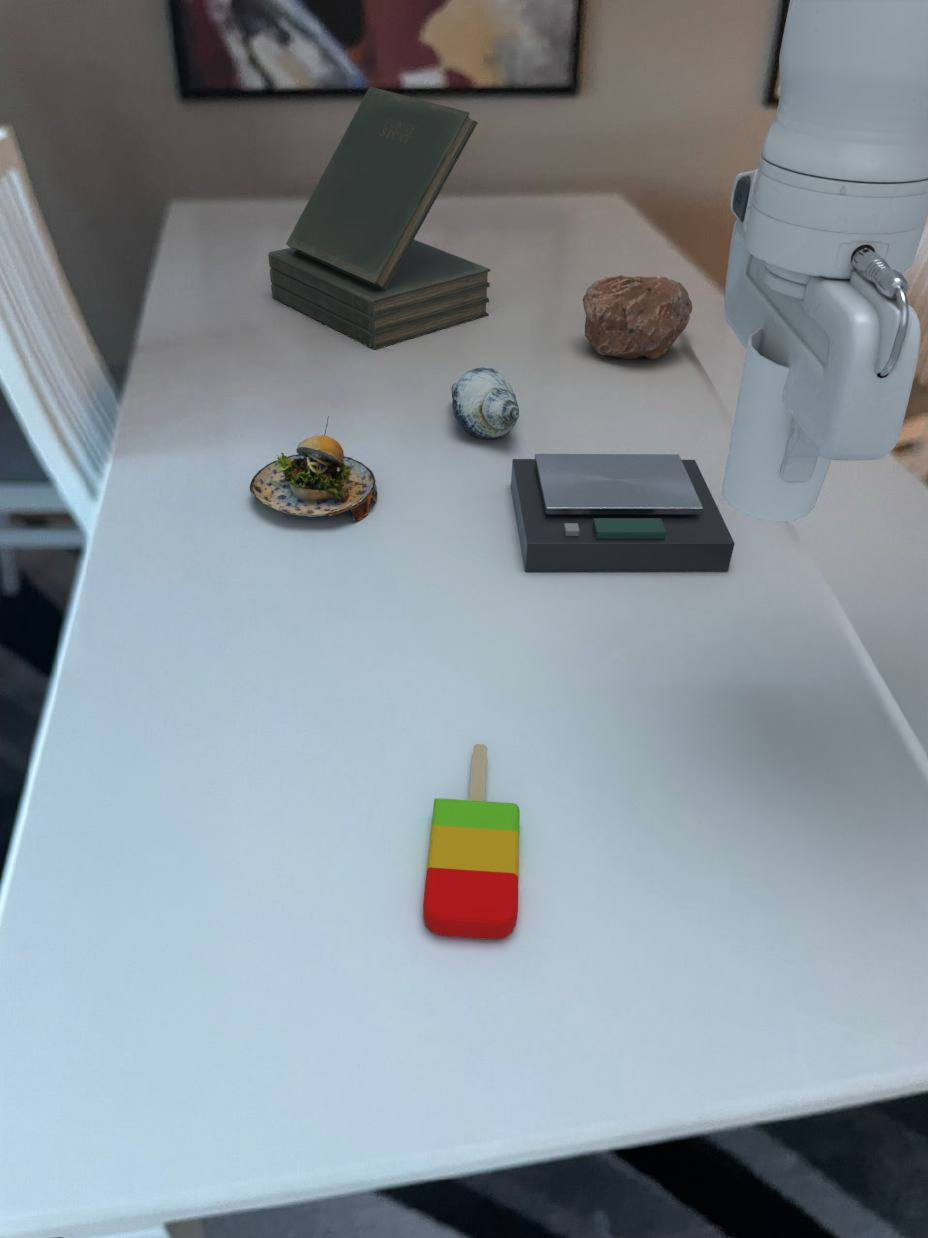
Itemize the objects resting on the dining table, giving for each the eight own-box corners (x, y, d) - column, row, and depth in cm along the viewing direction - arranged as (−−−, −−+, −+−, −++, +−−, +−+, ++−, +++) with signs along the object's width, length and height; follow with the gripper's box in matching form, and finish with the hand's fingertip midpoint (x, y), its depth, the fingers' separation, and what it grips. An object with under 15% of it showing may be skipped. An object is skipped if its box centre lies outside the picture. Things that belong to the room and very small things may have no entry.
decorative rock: (692, 347, 128) (706, 268, 122) (668, 379, 120) (682, 297, 114) (595, 328, 132) (604, 251, 126) (566, 358, 124) (574, 277, 118)
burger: (229, 491, 96) (220, 420, 92) (331, 456, 102) (327, 388, 98) (297, 546, 89) (290, 472, 84) (402, 504, 95) (401, 433, 91)
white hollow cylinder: (813, 537, 60) (861, 384, 53) (703, 509, 62) (736, 358, 55) (829, 483, 64) (875, 336, 58) (726, 458, 66) (760, 314, 60)
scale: (690, 485, 100) (696, 451, 97) (728, 571, 88) (736, 535, 85) (510, 485, 99) (512, 451, 96) (524, 572, 87) (527, 535, 85)
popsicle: (420, 938, 57) (420, 918, 56) (440, 751, 69) (440, 732, 68) (516, 944, 57) (518, 924, 56) (519, 756, 69) (521, 737, 68)
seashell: (505, 417, 114) (501, 467, 104) (447, 388, 112) (437, 436, 103) (532, 370, 110) (530, 417, 101) (472, 340, 109) (464, 384, 99)
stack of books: (271, 297, 138) (254, 96, 123) (384, 270, 148) (380, 81, 133) (373, 350, 124) (367, 131, 109) (488, 315, 135) (498, 111, 120)
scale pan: (677, 460, 97) (679, 454, 96) (702, 514, 89) (703, 507, 88) (534, 459, 96) (534, 453, 96) (545, 514, 88) (546, 507, 88)
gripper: (984, 289, 45) (895, 548, 53) (827, 171, 61) (778, 384, 69) (846, 288, 44) (779, 549, 53) (725, 170, 60) (688, 384, 69)
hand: (778, 454), depth 61 cm, fingers closed on white hollow cylinder, 4 cm apart
